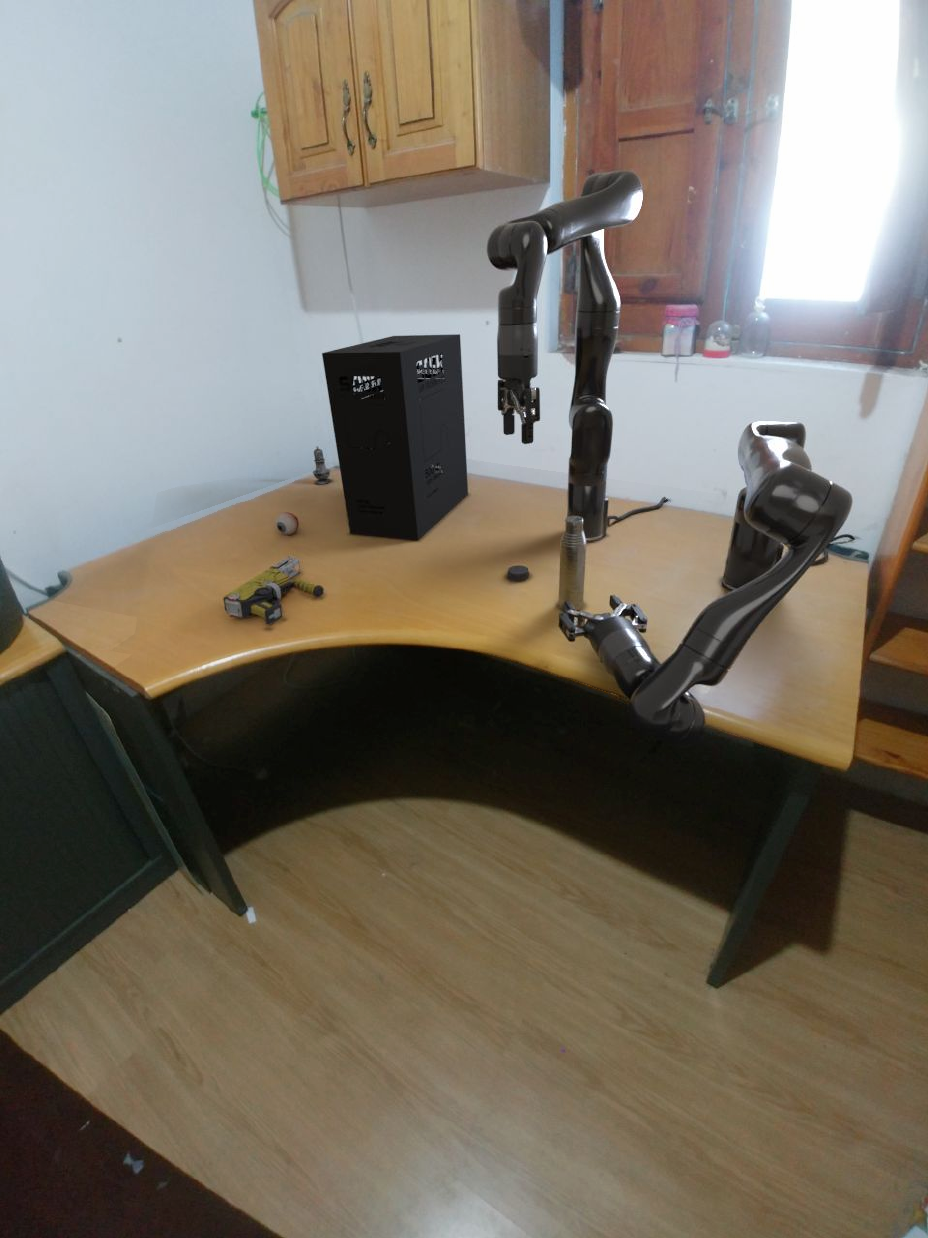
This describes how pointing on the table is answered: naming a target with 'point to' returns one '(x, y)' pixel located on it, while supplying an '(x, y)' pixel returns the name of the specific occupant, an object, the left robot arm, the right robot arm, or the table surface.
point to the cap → (518, 573)
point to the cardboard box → (399, 432)
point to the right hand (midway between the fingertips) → (588, 602)
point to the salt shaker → (320, 468)
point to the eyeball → (287, 523)
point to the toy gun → (267, 592)
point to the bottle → (572, 563)
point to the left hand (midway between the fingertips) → (518, 438)
